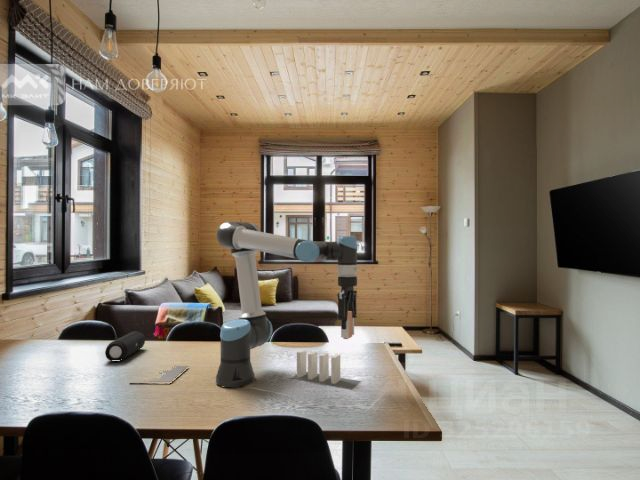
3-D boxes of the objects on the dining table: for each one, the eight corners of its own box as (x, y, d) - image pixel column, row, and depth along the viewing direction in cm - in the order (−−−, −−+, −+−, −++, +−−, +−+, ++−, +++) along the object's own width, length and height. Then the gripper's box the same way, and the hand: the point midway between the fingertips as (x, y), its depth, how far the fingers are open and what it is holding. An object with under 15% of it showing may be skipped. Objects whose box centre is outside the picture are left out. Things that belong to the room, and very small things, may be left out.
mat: (290, 379, 155) (290, 378, 155) (302, 372, 164) (302, 371, 164) (351, 390, 143) (351, 389, 143) (361, 382, 152) (361, 381, 152)
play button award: (188, 366, 170) (170, 381, 150) (188, 369, 170) (170, 385, 150) (152, 365, 170) (129, 381, 150) (152, 369, 170) (129, 385, 150)
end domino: (343, 338, 147) (343, 312, 148) (348, 336, 152) (348, 310, 152) (347, 339, 147) (347, 312, 147) (352, 336, 151) (352, 311, 151)
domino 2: (307, 379, 154) (307, 354, 154) (313, 375, 159) (313, 351, 159) (311, 379, 153) (311, 354, 154) (317, 376, 158) (317, 351, 158)
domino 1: (296, 377, 157) (296, 352, 157) (303, 373, 161) (303, 349, 161) (300, 377, 156) (300, 352, 156) (306, 374, 160) (306, 350, 161)
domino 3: (319, 381, 152) (319, 355, 152) (325, 377, 156) (325, 352, 156) (323, 381, 151) (323, 356, 151) (328, 377, 156) (328, 353, 156)
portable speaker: (125, 363, 177) (125, 341, 178) (102, 363, 177) (103, 342, 177) (146, 349, 203) (146, 330, 203) (127, 349, 202) (127, 330, 202)
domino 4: (331, 383, 149) (331, 357, 150) (336, 379, 154) (336, 354, 154) (334, 383, 149) (334, 357, 149) (340, 380, 153) (340, 354, 153)
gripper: (346, 277, 140) (347, 341, 139) (364, 274, 156) (365, 332, 155) (328, 277, 144) (328, 339, 143) (347, 274, 159) (348, 330, 159)
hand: (347, 335), depth 149 cm, fingers closed on end domino, 5 cm apart
